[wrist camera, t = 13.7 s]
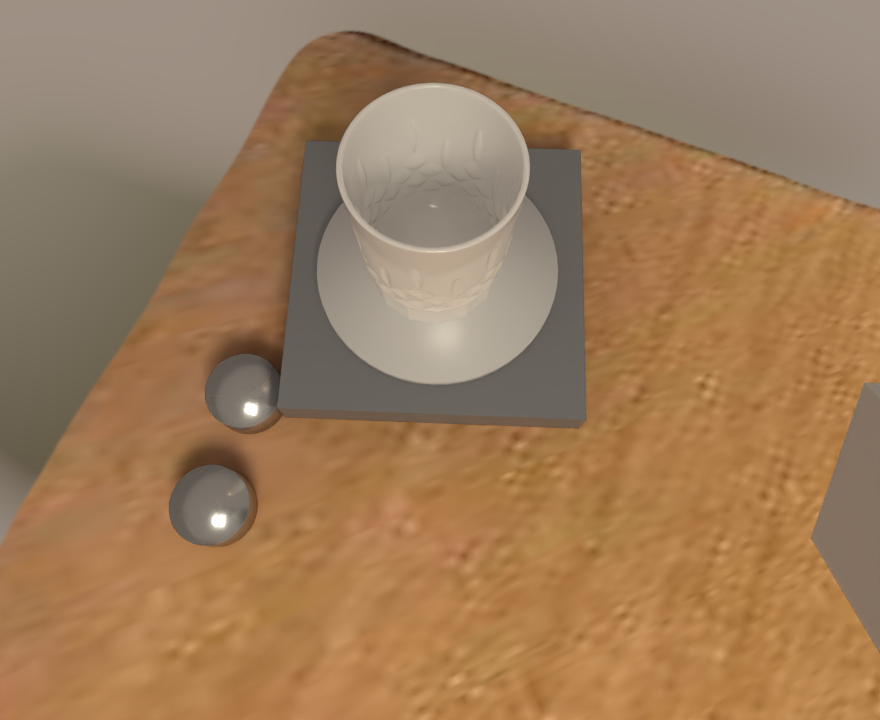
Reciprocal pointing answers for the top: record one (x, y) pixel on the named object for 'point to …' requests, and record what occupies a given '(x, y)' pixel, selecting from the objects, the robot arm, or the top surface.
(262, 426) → the cylinder
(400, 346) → the scale
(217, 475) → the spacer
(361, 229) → the white cup
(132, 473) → the top surface
